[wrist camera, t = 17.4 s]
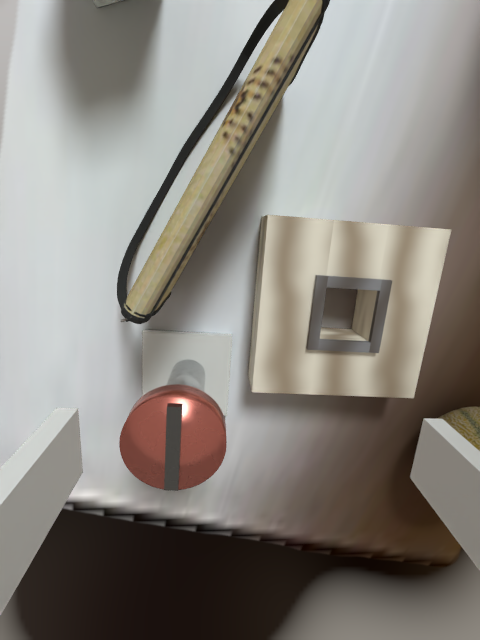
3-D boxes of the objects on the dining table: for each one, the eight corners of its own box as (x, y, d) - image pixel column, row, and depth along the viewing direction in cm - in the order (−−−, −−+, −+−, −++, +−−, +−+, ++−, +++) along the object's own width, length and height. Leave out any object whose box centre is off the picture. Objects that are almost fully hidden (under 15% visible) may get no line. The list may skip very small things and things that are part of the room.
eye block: (423, 230, 41) (455, 229, 35) (392, 380, 46) (416, 400, 40) (261, 216, 39) (268, 214, 34) (248, 374, 44) (252, 394, 39)
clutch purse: (242, 33, 34) (260, -112, 20) (297, 75, 36) (352, -32, 21) (111, 278, 40) (52, 305, 25) (163, 308, 41) (135, 348, 27)
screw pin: (152, 339, 41) (117, 398, 26) (226, 344, 42) (230, 403, 27) (151, 405, 43) (117, 494, 29) (221, 408, 44) (222, 496, 29)
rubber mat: (232, 334, 42) (232, 336, 42) (226, 411, 45) (226, 415, 44) (144, 329, 42) (142, 331, 41) (143, 409, 44) (142, 413, 43)
